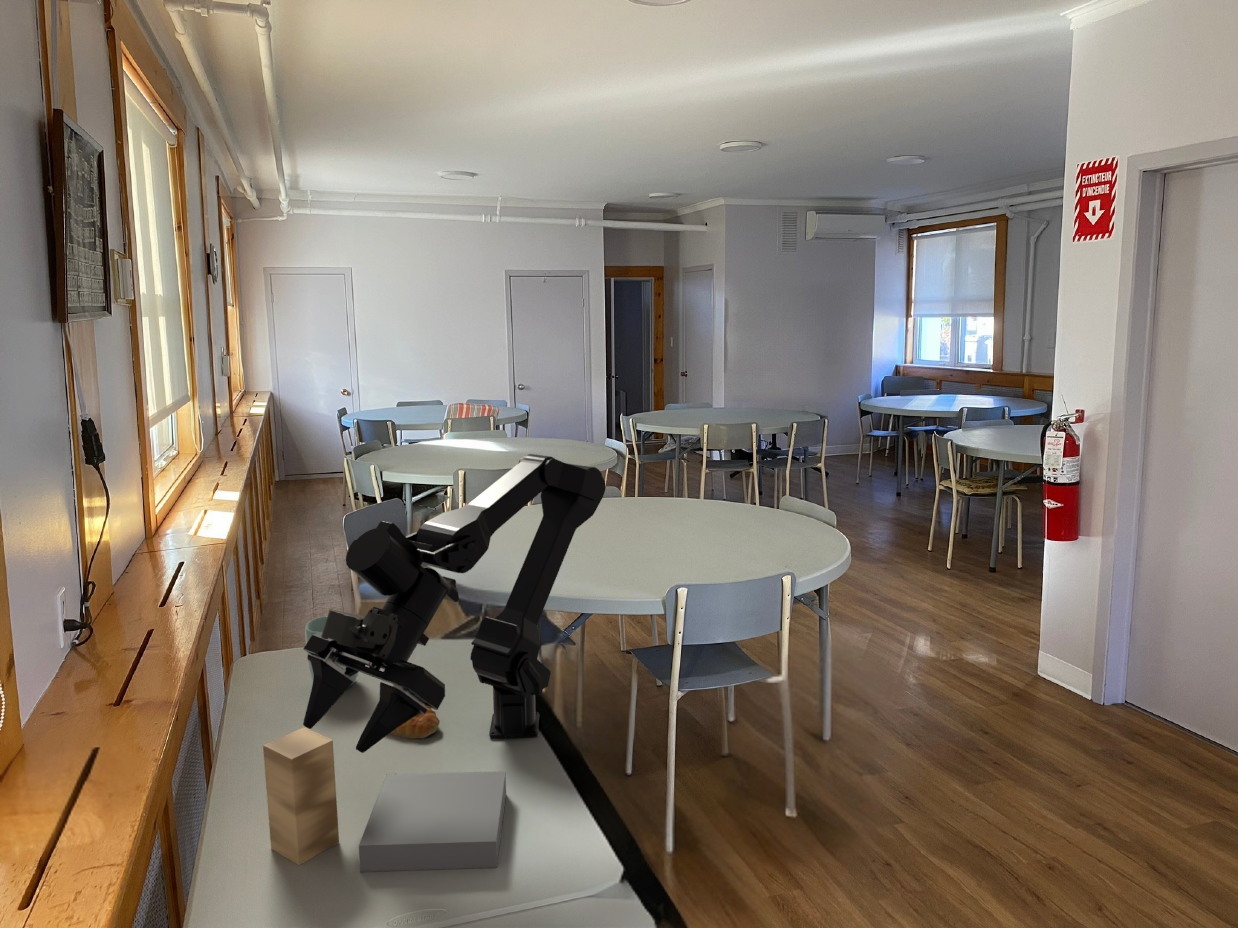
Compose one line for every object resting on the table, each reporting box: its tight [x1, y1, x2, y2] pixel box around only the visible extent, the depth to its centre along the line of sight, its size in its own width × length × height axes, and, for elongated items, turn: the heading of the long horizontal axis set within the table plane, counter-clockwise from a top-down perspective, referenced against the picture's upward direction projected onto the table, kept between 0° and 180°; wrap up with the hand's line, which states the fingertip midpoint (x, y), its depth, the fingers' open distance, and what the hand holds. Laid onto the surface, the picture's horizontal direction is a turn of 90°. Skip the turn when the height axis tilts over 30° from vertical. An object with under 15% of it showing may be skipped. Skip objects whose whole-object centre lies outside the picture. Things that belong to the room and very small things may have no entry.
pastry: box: [389, 706, 440, 739], centre depth 125 cm, size 9×7×4 cm
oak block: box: [262, 726, 340, 866], centre depth 97 cm, size 5×5×12 cm
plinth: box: [358, 770, 507, 873], centre depth 101 cm, size 14×14×3 cm
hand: (332, 738), depth 99 cm, fingers open, 9 cm apart
